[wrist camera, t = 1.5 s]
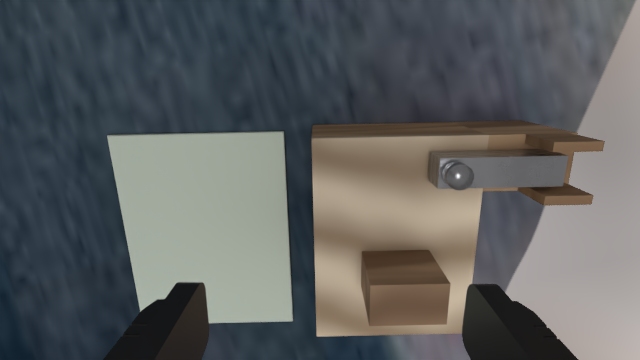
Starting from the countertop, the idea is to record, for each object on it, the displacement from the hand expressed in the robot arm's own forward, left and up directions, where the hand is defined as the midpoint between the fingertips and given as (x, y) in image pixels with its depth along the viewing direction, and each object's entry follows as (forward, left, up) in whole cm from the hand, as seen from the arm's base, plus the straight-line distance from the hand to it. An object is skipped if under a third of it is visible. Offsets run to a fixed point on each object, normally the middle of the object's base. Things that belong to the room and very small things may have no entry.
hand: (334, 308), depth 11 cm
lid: (+5, +5, -16) cm, 18 cm away
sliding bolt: (-1, +11, -14) cm, 18 cm away
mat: (+7, -11, -22) cm, 25 cm away
